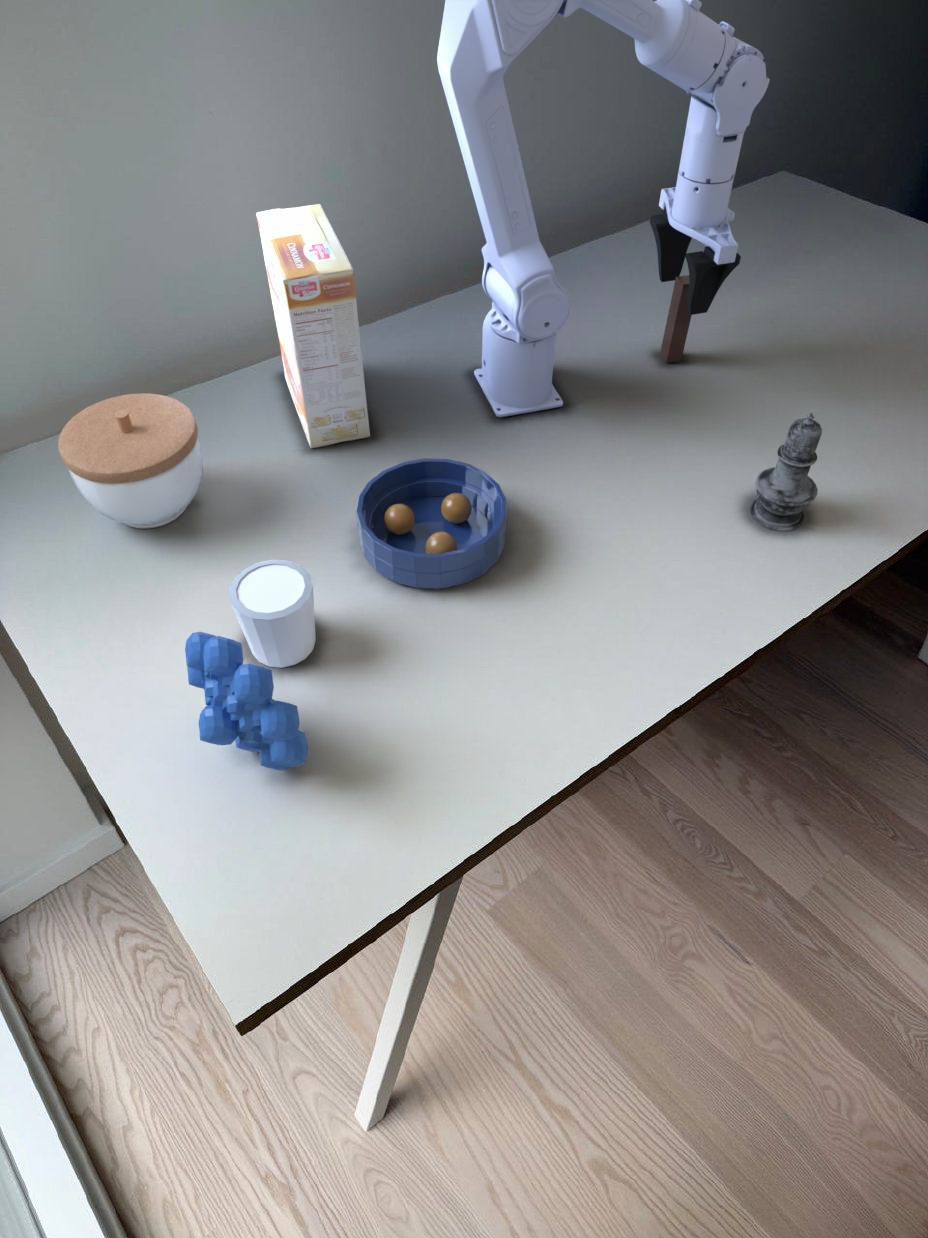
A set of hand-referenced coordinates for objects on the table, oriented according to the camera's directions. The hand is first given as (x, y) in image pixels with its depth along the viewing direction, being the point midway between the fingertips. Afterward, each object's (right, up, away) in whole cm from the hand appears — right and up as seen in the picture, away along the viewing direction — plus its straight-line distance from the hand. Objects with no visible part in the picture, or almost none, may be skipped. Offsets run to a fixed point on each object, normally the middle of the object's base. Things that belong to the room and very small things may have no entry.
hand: (682, 295), depth 102 cm
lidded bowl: (-57, -26, -12) cm, 63 cm away
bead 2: (-26, -26, -15) cm, 40 cm away
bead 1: (-31, -28, -16) cm, 45 cm away
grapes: (-42, -48, -32) cm, 71 cm away
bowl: (-28, -29, -15) cm, 44 cm away
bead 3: (-27, -30, -19) cm, 45 cm away
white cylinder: (-41, -39, -24) cm, 62 cm away
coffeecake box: (-41, -13, 0) cm, 43 cm away
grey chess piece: (+6, -27, -13) cm, 30 cm away
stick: (0, -5, +6) cm, 8 cm away
